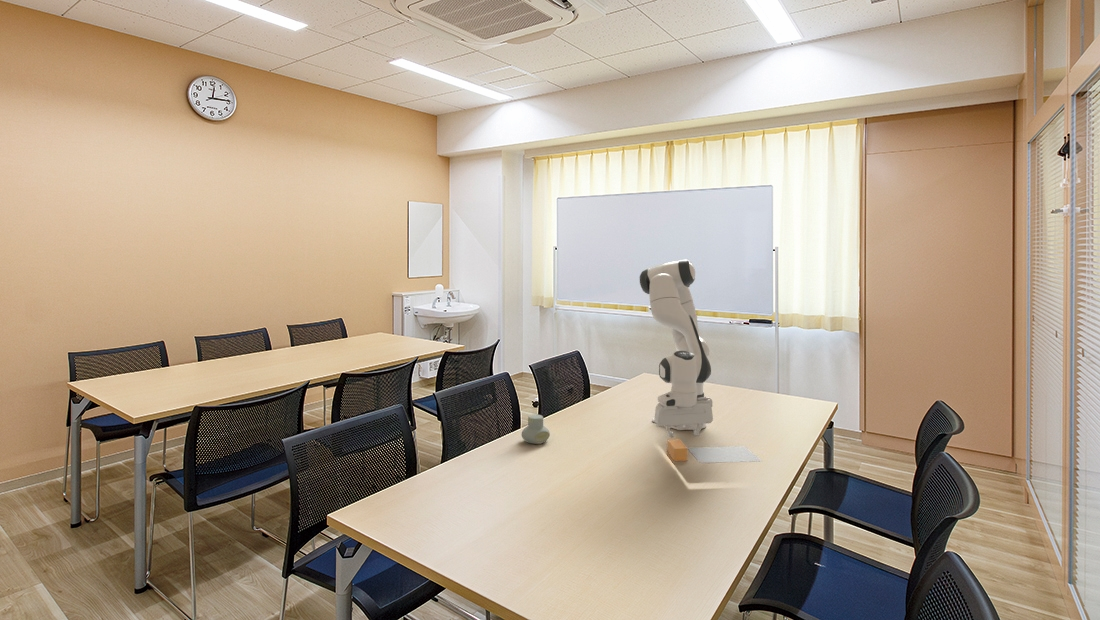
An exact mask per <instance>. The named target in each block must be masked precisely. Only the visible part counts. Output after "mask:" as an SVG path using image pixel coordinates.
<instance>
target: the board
mask: <svg viewBox="0 0 1100 620" xmlns="http://www.w3.org/2000/svg"><path fill="white" fill-rule="evenodd" d="M687 451H689V452H690V453H691V455H692V456H693V457H694V458H695V459H696V461H697V462H698V463H699V464H700V463H701V464H704V463H705V464H706V463H708V464H710V463H714V464H715V463H746V462H747V463H751V462H762V460H761V459H760V458H759V457H758V456H757V455H755V453H754V452H752V451H751V450H750V449H749V448H748V447H746V446H744V445H742V446H741V445H740V446H707V447H705V446H704V447H703V446H701V447H699V446H698V447H695V446H694V447H687Z"/></svg>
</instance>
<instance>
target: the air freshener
mask: <svg viewBox="0 0 1100 620" xmlns="http://www.w3.org/2000/svg"><path fill="white" fill-rule="evenodd" d="M550 436H551V432H550V429H549V428H548V427H546V426H544V416H543V415H541V414H530V415H528V417H527V426H525V427H524V428H523V429H522V431H521V437H522V439H523V440H524V441H525V442H527V443H528V444H534V445H541V444H543V443H545V442H546V441H547V440H549V439H550Z"/></svg>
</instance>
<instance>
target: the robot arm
mask: <svg viewBox="0 0 1100 620" xmlns="http://www.w3.org/2000/svg"><path fill="white" fill-rule="evenodd" d="M695 280H696V270H695V267H694V265H693V263H692V261H690V260H688V259H679V260H676V261H675V260H674V261H668V262H664V263H663V264H659V265H656V266H654V267H650V268H647V269H644V270H643V271H641V273H640V274H639V285H640V288H641V290H642V291H643V292H644V293H645V294H646V295H649V305H650V310H651V315H652V317H653V319H654V320H655V321H656V322H658V324H660V325H662V326H664V327H668V328H671V334H672V339H673V343H674V348H675V351H674V352H673V354H672V355H671V356H668V357H667V356H666V357H664V358H662V360H661V361H660V362H659V365H658V374H659V375H658V376H659V378H660V379H661V380H662V381H664V383H666V384H671V388H670V391H668V392H666V393H664V394H661V395H658V396H657V402H658V403H657V405H656V407H655V409H654V410H655V411H654V416H652V419H651V422H653V423H655V424H656V426H658V427H664V428H665V430H666V431H667V437H668V438H670V439H671V438H672V439H673V438H674V435H675V434H674V432H673V431H672V430H671V429H674V430H677V431H685V430H686V431H687V430H689V431H693V436H695V437H700V432H701V430H702V429H704V428H706V427H707V424H711V423H712V422H713V420H714V417H713V416H714V415H713V409H712V407H713V400H712V399H711V398H710V397H709V396H705V393H704V384H705V382H706V381H707V380H708V379H709V378H710V377H711V374H712V366H711V364H710V361H709V358H708V357H709V355H710V349H709V345H708V343H707V342H706V340H705V339H704V338H702V337H701V336H700V333H699V326H698V315H697V311H696V308H695V304H694V300H693V297H692V294H691V291H690V287H691V285H692V284H693V283H694V281H695Z"/></svg>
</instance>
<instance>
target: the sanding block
mask: <svg viewBox="0 0 1100 620" xmlns="http://www.w3.org/2000/svg"><path fill="white" fill-rule="evenodd" d="M666 440H667V441H666V442H667V443H666V452H667V453H668V454H666V455H667V457H668V459H669V460H670V461H671V463H672V464H673V465H674V466H675V463H674V462H677V461H679V462H680V461H684V462H685V461H688V449H687V448H688V447H687V445H686V444H684V442H683V441H682V440H681V439H680V438H672V439H671V438H670V439H666ZM670 457H671V458H670ZM672 460H673V461H674V462H673V461H672Z"/></svg>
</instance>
